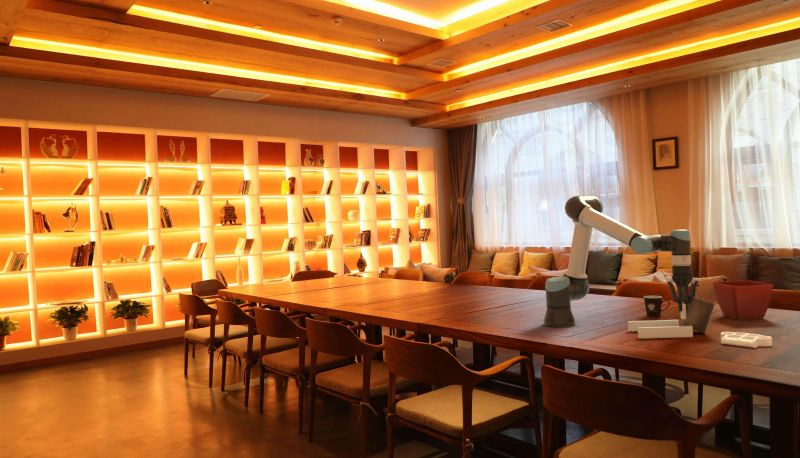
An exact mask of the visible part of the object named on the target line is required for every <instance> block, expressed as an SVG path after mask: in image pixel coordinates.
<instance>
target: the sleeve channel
mask: <svg viewBox="0 0 800 458" xmlns="http://www.w3.org/2000/svg"><path fill="white" fill-rule="evenodd" d="M627 331H628V332H629V333H631V331H632V332H634V331H636V332H635V333H637V332H638V333H637V335H638V339H658V338H660V339H664V338H665V339H667V338H670V339H671V338H693V337H694V332H693V331H694V330H693V326H682V325H681V326H680V320H679V319H665V320H664V319H660V320H656V319H655V320H630V321H629V320H628V321H627Z"/></svg>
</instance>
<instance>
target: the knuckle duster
mask: <svg viewBox="0 0 800 458" xmlns="http://www.w3.org/2000/svg"><path fill="white" fill-rule="evenodd" d="M720 343H721V344H723V345H728V346H729V345H730V346H738V347H744V348H745V347H746V348H751V349H753V348H754V349H756V348H758V347H772V346H773V338H772V336H770V335H769V336H768V335H762V334H759V333H758V334H757V333H746V332H733V331H722V332H720Z"/></svg>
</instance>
